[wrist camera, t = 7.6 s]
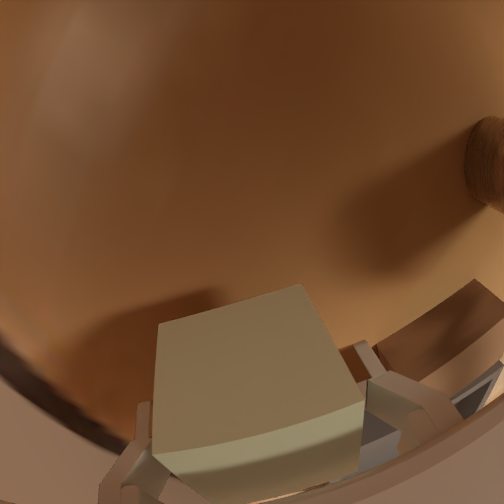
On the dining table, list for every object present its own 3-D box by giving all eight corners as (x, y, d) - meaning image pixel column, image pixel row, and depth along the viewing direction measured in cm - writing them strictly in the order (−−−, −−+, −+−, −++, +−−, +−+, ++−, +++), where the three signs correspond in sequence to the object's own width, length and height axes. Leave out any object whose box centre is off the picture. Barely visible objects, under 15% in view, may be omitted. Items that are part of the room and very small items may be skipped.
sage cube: (301, 282, 11) (364, 399, 6) (316, 374, 13) (357, 471, 9) (158, 323, 10) (151, 454, 6) (205, 405, 13) (218, 508, 8)
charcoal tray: (484, 343, 21) (504, 365, 18) (446, 431, 28) (457, 448, 26) (313, 426, 20) (326, 459, 17) (324, 487, 28) (332, 508, 25)
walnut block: (472, 276, 17) (512, 309, 14) (470, 325, 20) (501, 357, 16) (374, 341, 17) (407, 389, 14) (384, 382, 20) (410, 424, 16)
